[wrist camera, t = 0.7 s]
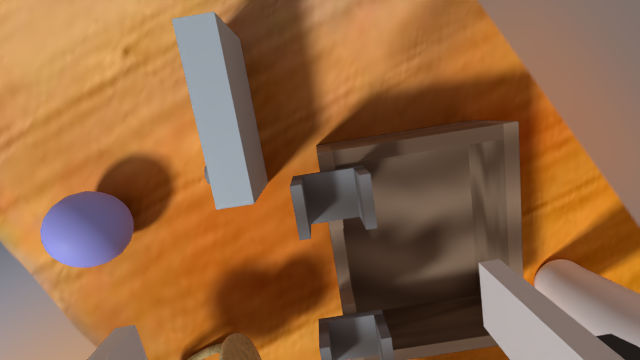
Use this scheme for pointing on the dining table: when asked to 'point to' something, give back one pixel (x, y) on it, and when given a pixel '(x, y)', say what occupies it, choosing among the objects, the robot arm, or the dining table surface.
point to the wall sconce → (230, 349)
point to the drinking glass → (591, 299)
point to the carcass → (414, 235)
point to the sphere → (87, 229)
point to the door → (222, 109)
